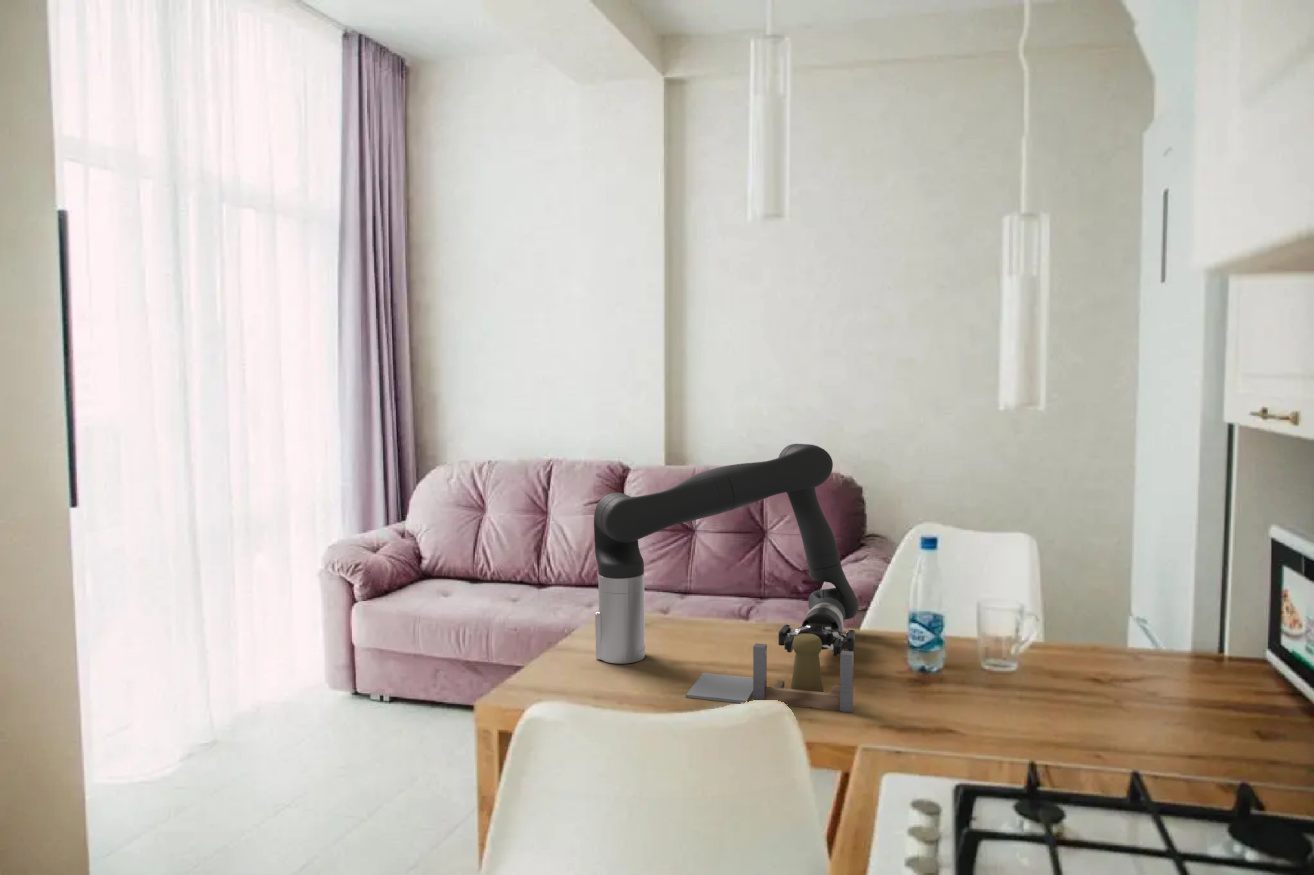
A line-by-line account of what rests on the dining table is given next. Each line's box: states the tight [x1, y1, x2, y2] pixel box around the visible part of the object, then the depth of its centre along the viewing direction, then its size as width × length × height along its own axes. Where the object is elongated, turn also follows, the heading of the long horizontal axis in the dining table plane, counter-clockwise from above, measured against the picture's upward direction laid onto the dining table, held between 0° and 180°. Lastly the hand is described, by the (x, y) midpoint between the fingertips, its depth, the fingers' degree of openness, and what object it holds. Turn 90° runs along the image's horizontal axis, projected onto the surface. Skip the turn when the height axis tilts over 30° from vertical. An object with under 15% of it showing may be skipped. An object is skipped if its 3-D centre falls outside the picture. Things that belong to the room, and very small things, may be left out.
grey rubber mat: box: [685, 672, 753, 704], centre depth 170 cm, size 11×12×1 cm
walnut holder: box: [752, 642, 854, 714], centre depth 164 cm, size 17×9×10 cm, turn 72°
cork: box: [790, 634, 824, 692], centre depth 166 cm, size 6×6×11 cm
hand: (812, 649), depth 172 cm, fingers open, 8 cm apart
